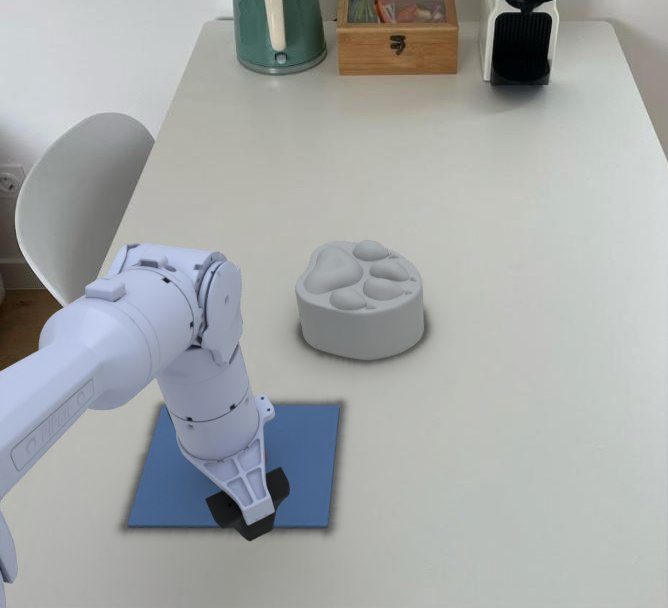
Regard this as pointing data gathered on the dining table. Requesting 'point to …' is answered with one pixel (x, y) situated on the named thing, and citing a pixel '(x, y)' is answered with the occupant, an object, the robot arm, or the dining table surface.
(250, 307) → the dining table surface
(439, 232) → the dining table surface
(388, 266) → the lumpy-topped squat cylinder
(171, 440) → the towel
